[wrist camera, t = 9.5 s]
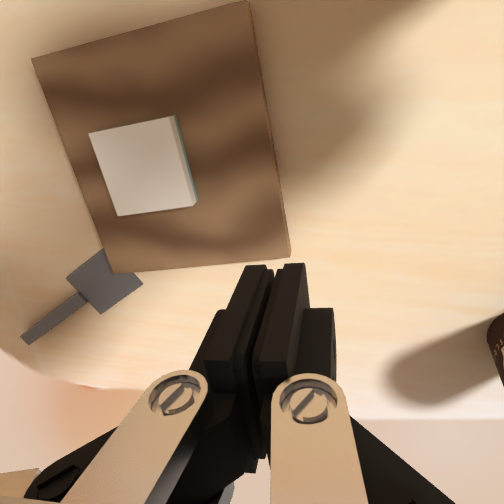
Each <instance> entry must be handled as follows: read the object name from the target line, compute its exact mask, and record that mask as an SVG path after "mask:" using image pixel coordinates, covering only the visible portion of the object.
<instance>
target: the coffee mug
mask: <svg viewBox="0 0 504 504" xmlns="http://www.w3.org/2000/svg"><path fill="white" fill-rule="evenodd" d="M487 341H488V344H489V347H490V350H491V353H492V356H493V358H494V361H495V364H496V367H497V369H498V372H499V375H500V378H501V380H502V383H503V386H504V314H502V315H500V316H499V317H498V318H496V319H495V320H494V321H493V323H492V324H491V325H490V327H489V329H488V332H487Z"/></svg>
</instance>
